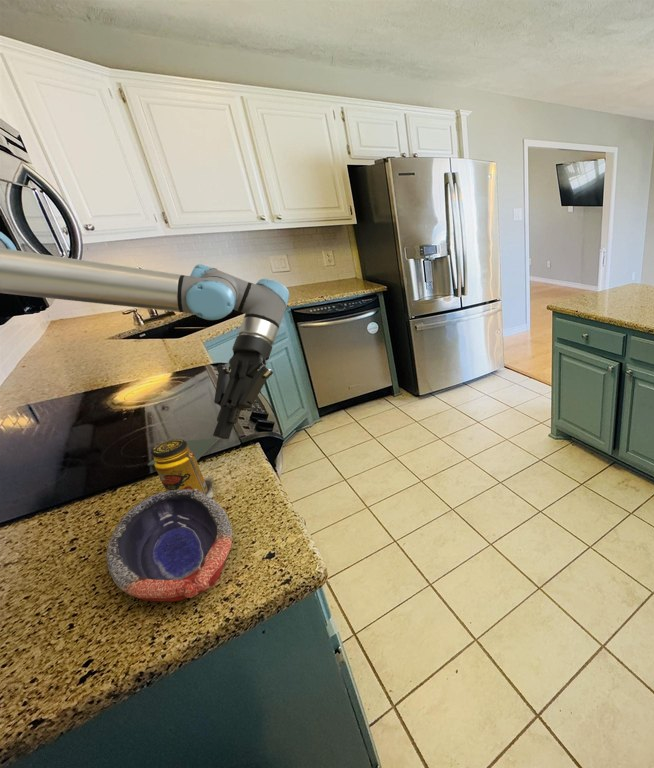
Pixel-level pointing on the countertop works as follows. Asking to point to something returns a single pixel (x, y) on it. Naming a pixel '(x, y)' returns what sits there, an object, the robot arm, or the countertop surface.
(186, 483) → the condiment
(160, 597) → the dish
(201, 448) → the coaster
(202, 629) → the countertop surface
